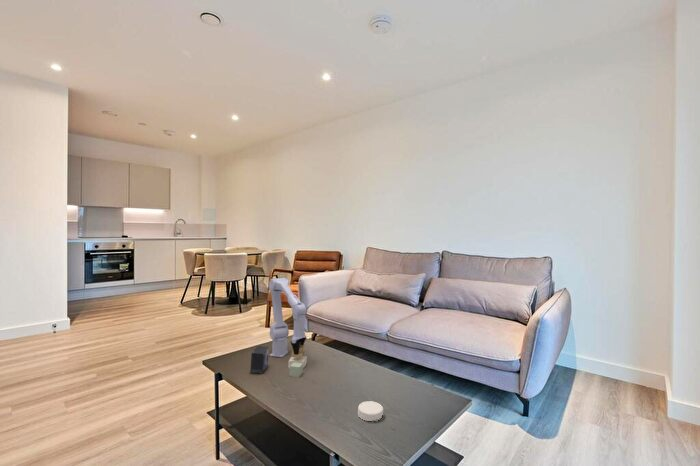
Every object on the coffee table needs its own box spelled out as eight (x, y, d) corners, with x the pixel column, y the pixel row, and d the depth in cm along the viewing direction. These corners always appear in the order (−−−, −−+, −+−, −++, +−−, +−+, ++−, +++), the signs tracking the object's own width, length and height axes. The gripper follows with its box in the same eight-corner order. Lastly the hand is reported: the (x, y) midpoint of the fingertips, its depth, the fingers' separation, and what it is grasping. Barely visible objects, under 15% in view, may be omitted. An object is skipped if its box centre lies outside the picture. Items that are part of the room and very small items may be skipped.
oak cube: (295, 353, 179) (295, 344, 179) (304, 354, 178) (304, 345, 178) (291, 356, 174) (292, 347, 174) (300, 357, 173) (301, 348, 173)
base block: (292, 362, 180) (292, 355, 180) (306, 363, 179) (306, 356, 179) (288, 368, 172) (288, 360, 172) (303, 369, 171) (303, 362, 172)
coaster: (367, 406, 137) (368, 398, 137) (387, 415, 131) (388, 406, 131) (352, 416, 129) (353, 407, 129) (373, 426, 123) (373, 416, 123)
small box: (262, 374, 164) (263, 353, 164) (249, 373, 164) (250, 352, 164) (268, 365, 174) (269, 346, 174) (256, 365, 174) (257, 345, 174)
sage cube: (293, 372, 168) (293, 362, 168) (302, 373, 167) (303, 363, 167) (289, 376, 163) (289, 366, 163) (299, 377, 162) (299, 367, 162)
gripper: (301, 331, 168) (300, 358, 168) (310, 324, 182) (309, 348, 182) (288, 330, 170) (287, 356, 170) (298, 323, 184) (297, 347, 184)
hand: (298, 352), depth 176 cm, fingers open, 5 cm apart
